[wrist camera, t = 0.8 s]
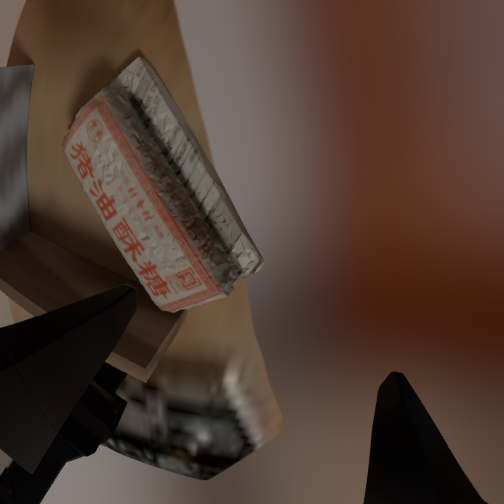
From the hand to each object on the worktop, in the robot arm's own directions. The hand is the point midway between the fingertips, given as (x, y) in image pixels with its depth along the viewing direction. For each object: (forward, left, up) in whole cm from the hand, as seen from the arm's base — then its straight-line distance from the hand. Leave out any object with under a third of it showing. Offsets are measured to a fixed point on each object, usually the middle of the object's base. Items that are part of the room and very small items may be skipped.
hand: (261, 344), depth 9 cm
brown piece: (-3, +18, -12) cm, 22 cm away
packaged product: (-2, +11, -13) cm, 17 cm away
